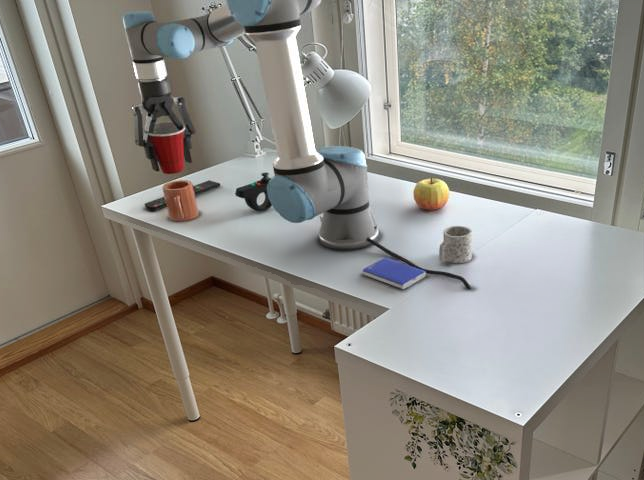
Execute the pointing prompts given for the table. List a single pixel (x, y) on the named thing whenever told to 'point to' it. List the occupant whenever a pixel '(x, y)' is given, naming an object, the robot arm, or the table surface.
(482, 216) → the table surface
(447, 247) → the mug
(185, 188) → the mug
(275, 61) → the robot arm
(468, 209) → the table surface
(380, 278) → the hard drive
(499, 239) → the table surface
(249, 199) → the controller
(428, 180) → the apple
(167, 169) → the plastic cup
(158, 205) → the remote control
